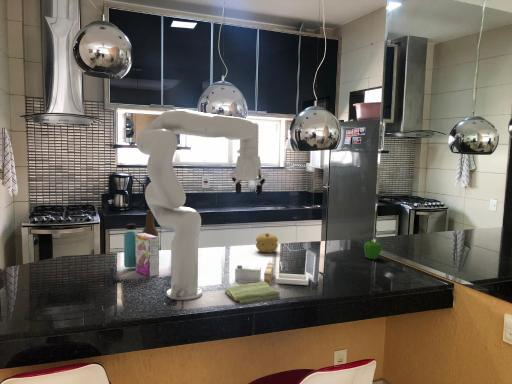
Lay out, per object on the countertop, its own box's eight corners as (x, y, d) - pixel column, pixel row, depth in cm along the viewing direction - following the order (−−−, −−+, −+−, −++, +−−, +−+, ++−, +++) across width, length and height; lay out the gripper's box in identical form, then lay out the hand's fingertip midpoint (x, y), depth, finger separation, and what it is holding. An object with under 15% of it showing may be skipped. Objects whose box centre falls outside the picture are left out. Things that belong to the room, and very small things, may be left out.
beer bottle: (161, 259, 192) (162, 210, 190) (149, 263, 185) (149, 211, 183) (150, 257, 196) (150, 208, 194) (138, 260, 189) (137, 210, 187)
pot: (280, 250, 216) (281, 232, 215) (272, 255, 205) (273, 236, 204) (260, 248, 221) (261, 230, 220) (252, 252, 210) (252, 233, 209)
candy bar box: (134, 272, 171) (134, 234, 169) (145, 269, 175) (144, 232, 173) (149, 277, 163) (149, 238, 162) (159, 275, 167) (159, 236, 166)
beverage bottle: (134, 271, 171) (134, 225, 169) (120, 270, 172) (120, 224, 171) (142, 267, 177) (142, 223, 176) (128, 266, 179) (128, 222, 177)
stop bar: (259, 282, 161) (259, 268, 161) (235, 280, 162) (235, 267, 162) (260, 279, 165) (260, 265, 165) (236, 277, 166) (237, 264, 166)
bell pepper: (366, 255, 209) (367, 236, 209) (382, 258, 205) (383, 238, 204) (360, 258, 203) (361, 239, 202) (377, 261, 198) (377, 241, 197)
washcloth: (222, 293, 148) (222, 284, 148) (265, 287, 155) (266, 279, 155) (235, 305, 136) (236, 296, 136) (281, 298, 143) (282, 290, 143)
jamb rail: (270, 286, 156) (270, 273, 155) (263, 285, 156) (264, 273, 156) (273, 274, 172) (273, 263, 171) (267, 274, 172) (268, 262, 171)
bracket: (308, 285, 158) (308, 280, 158) (275, 283, 160) (275, 278, 160) (308, 279, 166) (308, 275, 165) (276, 277, 167) (276, 273, 167)
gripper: (226, 152, 165) (226, 193, 166) (263, 152, 157) (263, 196, 158) (235, 152, 171) (235, 192, 173) (272, 152, 163) (271, 194, 165)
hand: (248, 194), depth 166 cm, fingers open, 9 cm apart
